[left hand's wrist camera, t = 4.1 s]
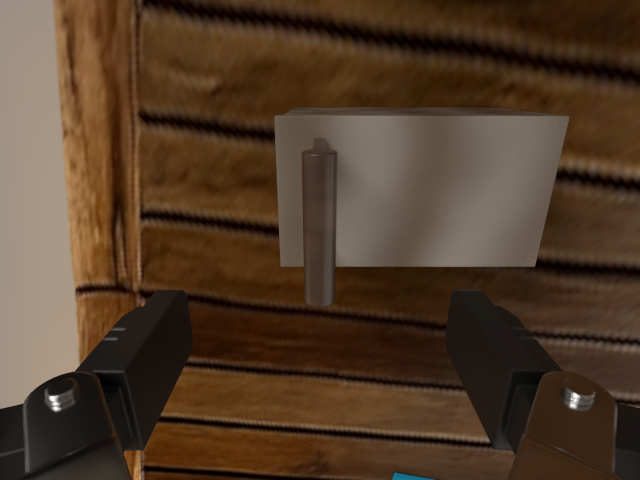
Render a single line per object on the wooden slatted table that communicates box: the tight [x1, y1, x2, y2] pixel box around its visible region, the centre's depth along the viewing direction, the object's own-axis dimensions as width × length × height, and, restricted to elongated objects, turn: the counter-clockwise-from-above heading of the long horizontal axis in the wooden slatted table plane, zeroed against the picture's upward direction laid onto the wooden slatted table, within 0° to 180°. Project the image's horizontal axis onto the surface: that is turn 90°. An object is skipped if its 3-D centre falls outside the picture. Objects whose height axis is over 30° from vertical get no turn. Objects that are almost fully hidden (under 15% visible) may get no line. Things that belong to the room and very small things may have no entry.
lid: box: [274, 115, 569, 307], centre depth 21 cm, size 17×10×8 cm, turn 90°
